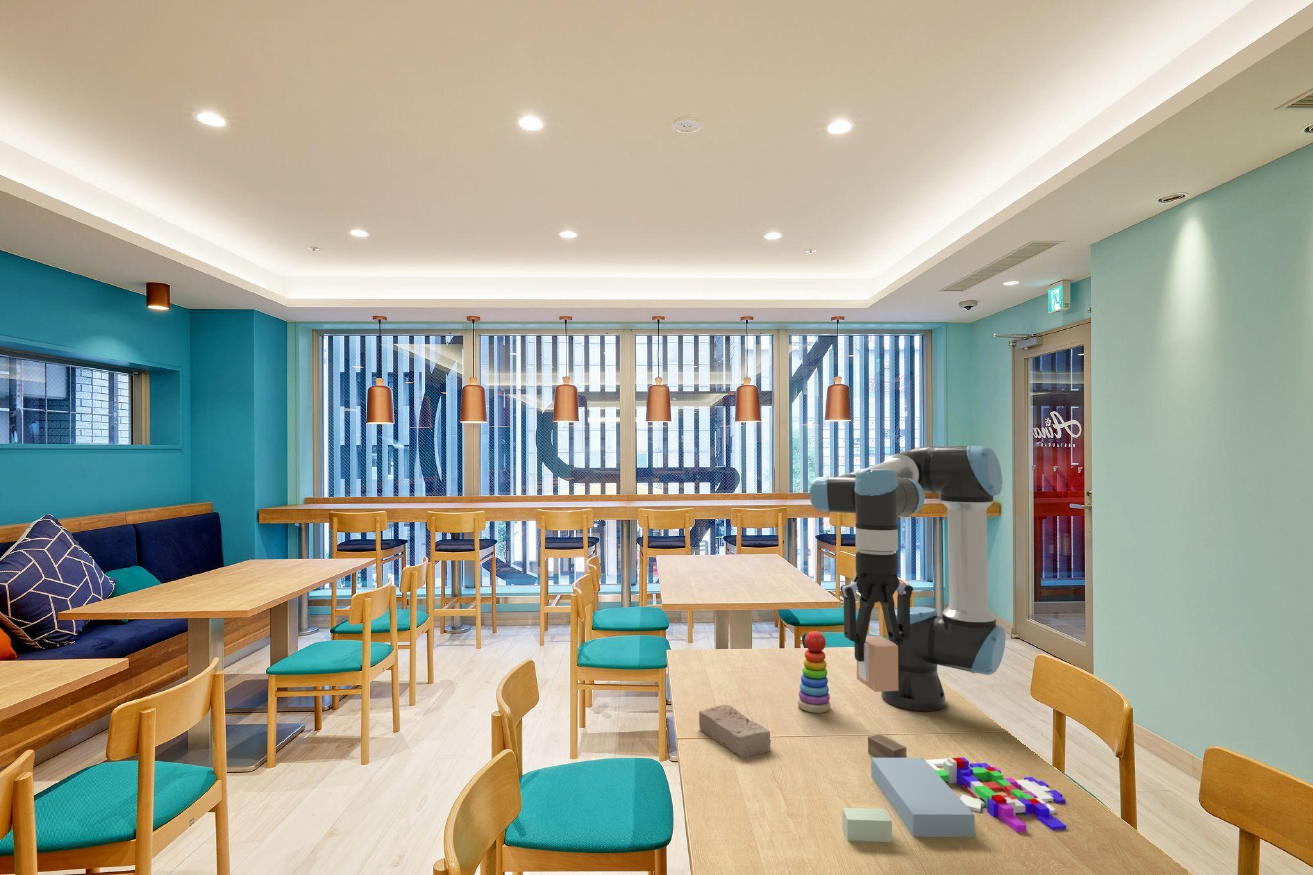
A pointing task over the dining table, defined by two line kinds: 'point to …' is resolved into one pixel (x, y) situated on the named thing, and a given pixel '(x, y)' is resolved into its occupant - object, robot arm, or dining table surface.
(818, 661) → the stacking toy
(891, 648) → the terracotta block
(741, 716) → the brick
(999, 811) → the building block set
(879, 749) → the walnut block
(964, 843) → the dining table surface
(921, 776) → the base block
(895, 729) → the dining table surface
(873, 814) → the sage block
